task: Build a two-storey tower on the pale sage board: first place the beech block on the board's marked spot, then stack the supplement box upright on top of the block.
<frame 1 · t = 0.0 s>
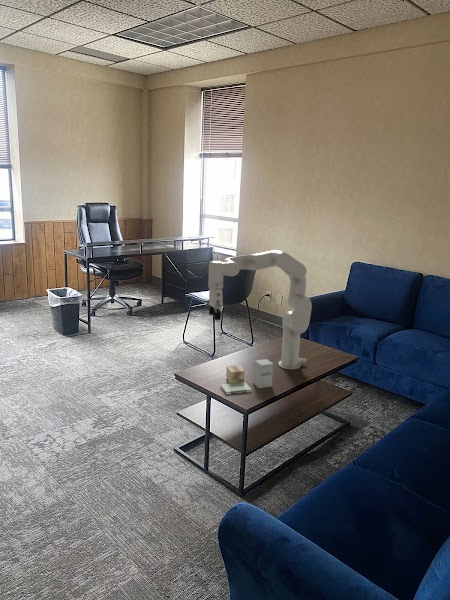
hand: (214, 317, 244), 31 cm above the table, fingers open, 9 cm apart
beech block: (235, 381, 242), on the table
supplement box: (262, 385, 239), on the table
sage board: (235, 389, 232), on the table
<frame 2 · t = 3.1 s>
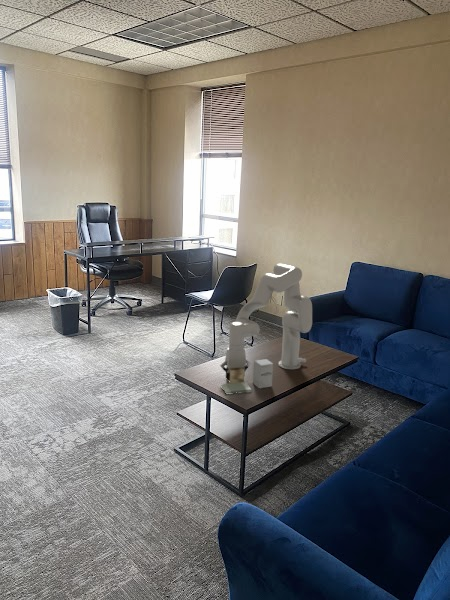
hand: (235, 378, 242), 1 cm above the table, fingers closed on beech block, 7 cm apart
beech block: (235, 381, 242), on the table, touching gripper
everything else where it was.
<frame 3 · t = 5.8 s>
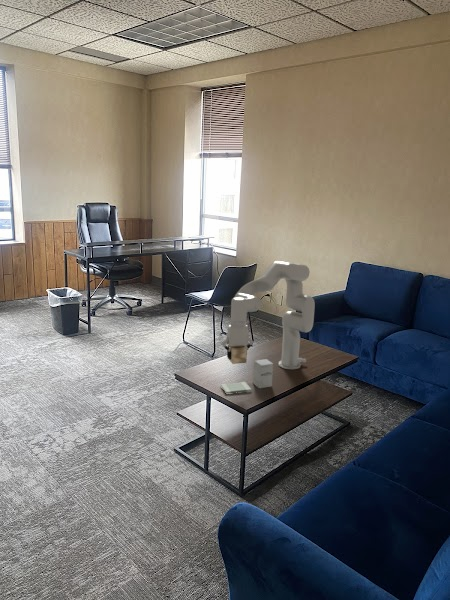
hand: (237, 357, 228), 17 cm above the table, fingers closed on beech block, 7 cm apart
beech block: (236, 360, 229), point 15 cm above the table, touching gripper
everything else where it was.
when the fingers open (4 cm above the table, at t = 8.5 s): beech block drops 1 cm, resting on sage board.
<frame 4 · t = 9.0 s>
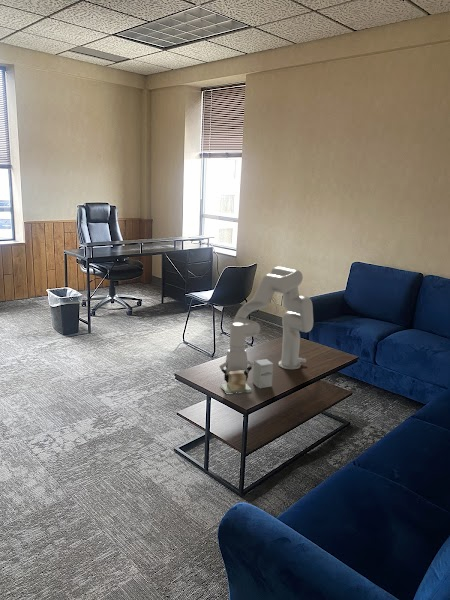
hand: (236, 380, 231), 5 cm above the table, fingers open, 9 cm apart
beech block: (236, 386, 232), point 2 cm above the table, touching sage board
everything else where it was.
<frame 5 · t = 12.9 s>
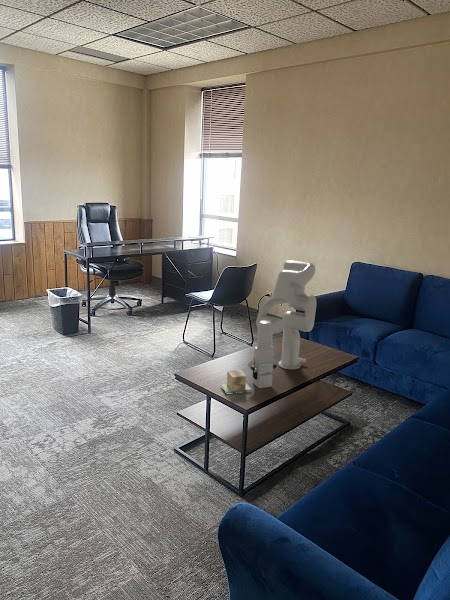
hand: (262, 377, 238), 4 cm above the table, fingers closed on supplement box, 7 cm apart
supplement box: (262, 385, 239), on the table, touching gripper
everything else where it was.
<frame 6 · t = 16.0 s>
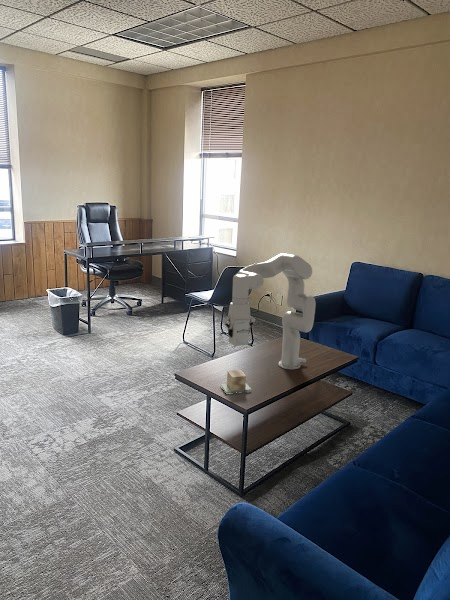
hand: (238, 335, 226), 28 cm above the table, fingers closed on supplement box, 7 cm apart
supplement box: (238, 343, 227), point 24 cm above the table, touching gripper
everything else where it was.
when the fingers open (14 cm above the table, at t = 19.3 s): supplement box stays where it is, resting on beech block.
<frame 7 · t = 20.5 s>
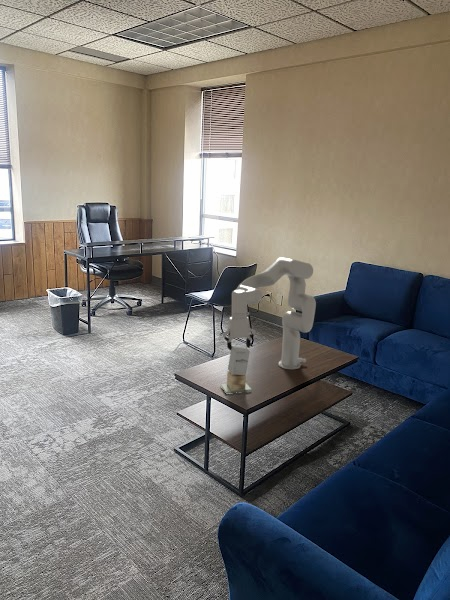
hand: (238, 348, 232), 20 cm above the table, fingers open, 9 cm apart
beech block: (236, 386, 232), point 2 cm above the table, touching supplement box, sage board
supplement box: (236, 372, 231), point 9 cm above the table, touching beech block
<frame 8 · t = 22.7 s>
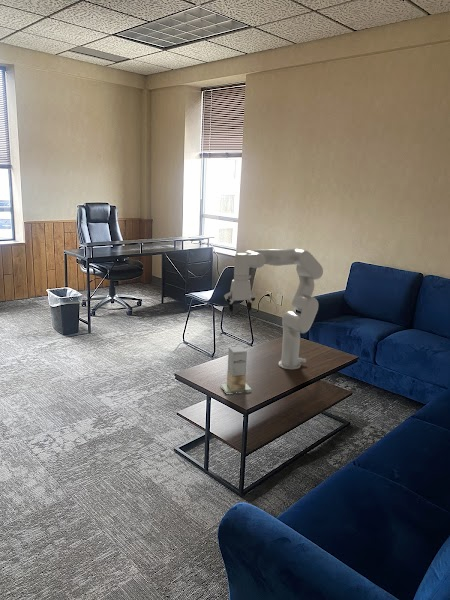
hand: (240, 310, 239), 36 cm above the table, fingers open, 9 cm apart
at the end: beech block inside the target area on the sage board (0.1 cm from its centre), point 1.5 cm above the sage board's base; supplement box 0.4 cm off-centre on the beech block, point 6.8 cm above the beech block's base; supplement box tilted 0° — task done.
